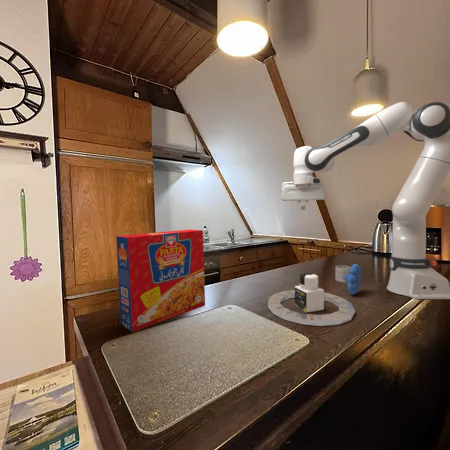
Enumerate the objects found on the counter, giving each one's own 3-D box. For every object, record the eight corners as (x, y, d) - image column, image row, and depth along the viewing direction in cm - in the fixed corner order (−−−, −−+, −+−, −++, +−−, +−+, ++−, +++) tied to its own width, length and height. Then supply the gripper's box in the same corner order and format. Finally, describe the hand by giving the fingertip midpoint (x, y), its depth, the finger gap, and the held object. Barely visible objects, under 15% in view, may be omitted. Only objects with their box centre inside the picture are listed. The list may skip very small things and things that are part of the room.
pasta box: (132, 333, 73) (127, 237, 71) (120, 324, 78) (116, 236, 77) (205, 305, 93) (202, 230, 91) (191, 300, 98) (189, 229, 97)
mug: (352, 282, 116) (352, 268, 115) (337, 282, 117) (337, 268, 117) (346, 277, 125) (346, 263, 125) (332, 276, 127) (332, 263, 126)
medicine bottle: (294, 305, 91) (294, 272, 90) (311, 302, 93) (311, 270, 92) (306, 312, 84) (306, 277, 83) (324, 310, 86) (324, 275, 85)
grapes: (347, 287, 109) (347, 260, 108) (365, 291, 104) (365, 262, 103) (338, 294, 100) (338, 265, 99) (356, 298, 95) (357, 267, 95)
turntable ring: (344, 296, 98) (344, 291, 98) (364, 329, 71) (364, 323, 71) (271, 292, 105) (271, 287, 105) (264, 321, 78) (264, 315, 78)
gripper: (280, 181, 121) (280, 210, 121) (326, 179, 115) (326, 209, 116) (281, 183, 127) (281, 210, 127) (324, 180, 121) (324, 209, 122)
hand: (303, 209), depth 122 cm, fingers closed
